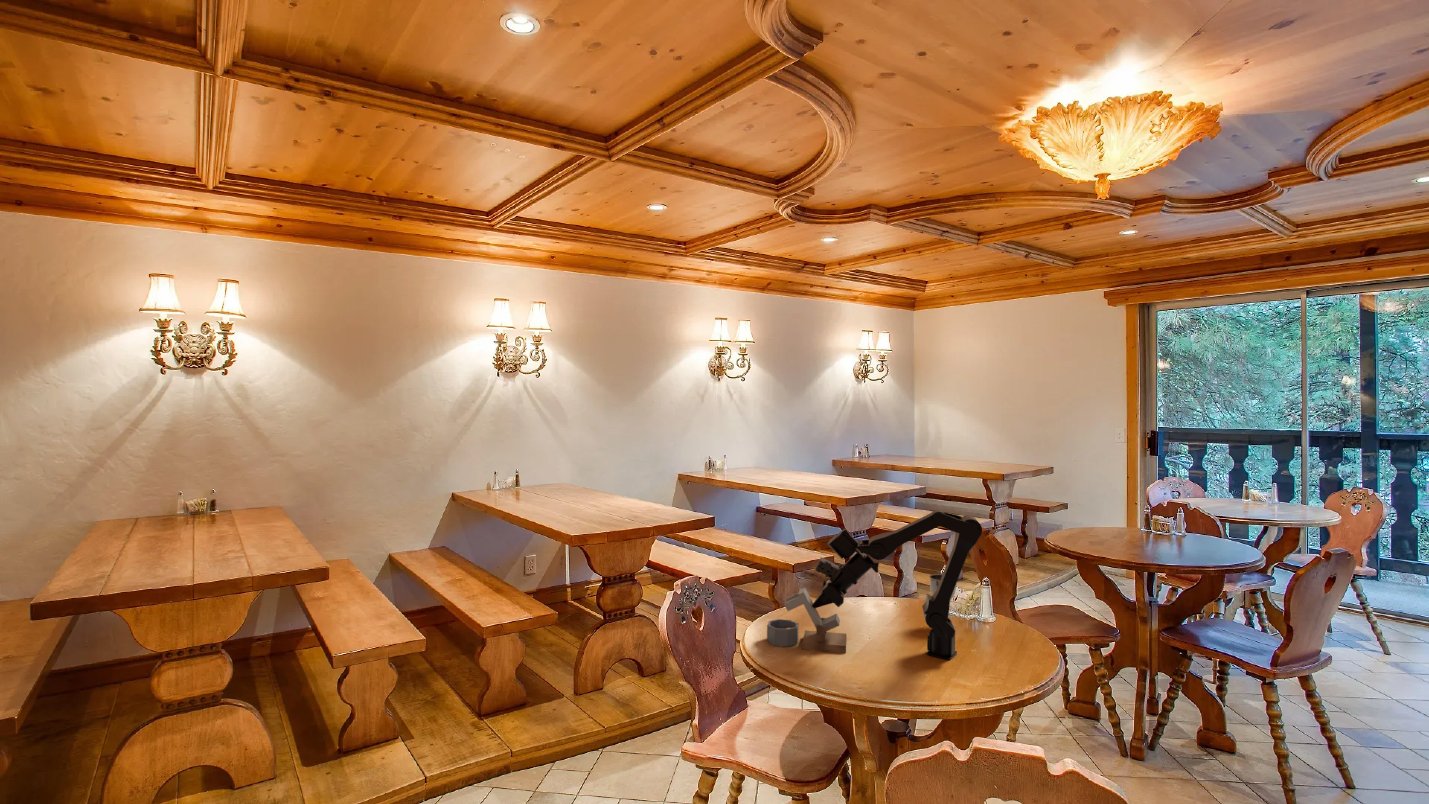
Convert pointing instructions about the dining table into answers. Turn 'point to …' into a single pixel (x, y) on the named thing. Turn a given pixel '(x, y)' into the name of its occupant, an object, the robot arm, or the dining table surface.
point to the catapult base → (824, 640)
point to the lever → (811, 610)
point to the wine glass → (935, 582)
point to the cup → (782, 632)
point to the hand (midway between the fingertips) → (813, 606)
